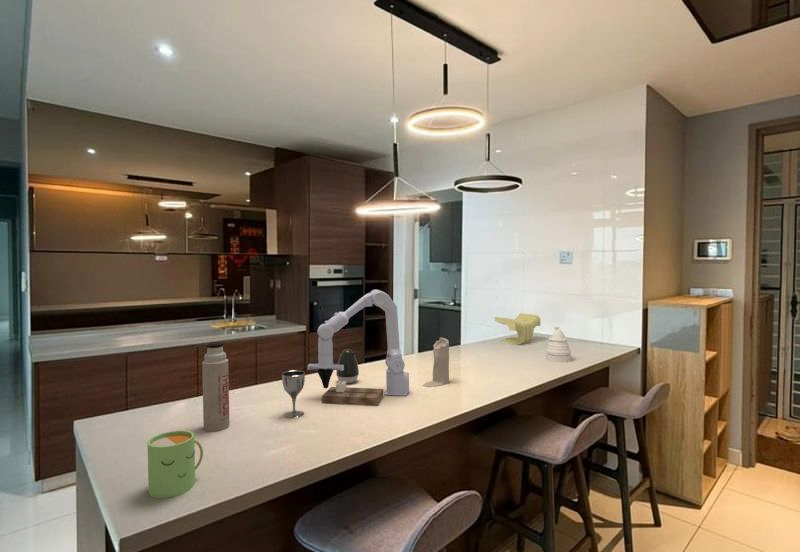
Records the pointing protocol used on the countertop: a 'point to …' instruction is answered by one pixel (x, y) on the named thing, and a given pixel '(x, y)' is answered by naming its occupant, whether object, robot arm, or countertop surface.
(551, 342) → the honey pot
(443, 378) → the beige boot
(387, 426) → the countertop surface
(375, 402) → the fader console
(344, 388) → the fader tab
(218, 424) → the thermos bottle
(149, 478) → the mug
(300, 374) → the silver metal goblet
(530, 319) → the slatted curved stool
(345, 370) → the pump dispenser
